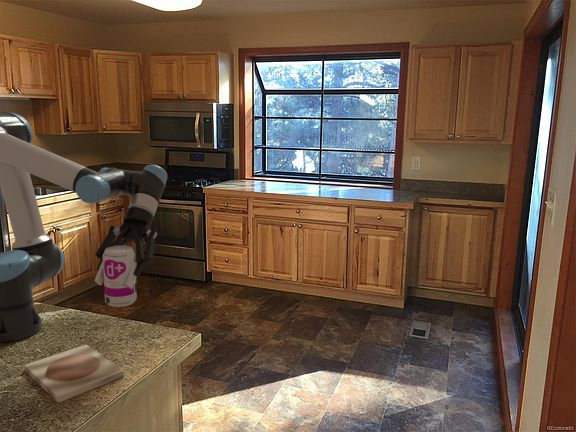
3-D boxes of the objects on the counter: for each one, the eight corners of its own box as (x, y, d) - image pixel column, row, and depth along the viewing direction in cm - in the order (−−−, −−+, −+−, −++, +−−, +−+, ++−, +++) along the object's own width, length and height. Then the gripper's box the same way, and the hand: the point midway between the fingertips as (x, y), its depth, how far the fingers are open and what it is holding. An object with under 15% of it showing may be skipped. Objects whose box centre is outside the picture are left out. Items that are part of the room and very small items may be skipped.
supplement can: (127, 309, 126) (125, 254, 123) (99, 306, 128) (95, 252, 124) (142, 297, 134) (140, 246, 131) (115, 294, 135) (112, 243, 132)
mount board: (24, 370, 121) (24, 362, 121) (86, 349, 133) (86, 342, 133) (58, 402, 108) (57, 394, 108) (123, 376, 120) (123, 368, 119)
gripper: (179, 222, 139) (155, 294, 127) (112, 217, 143) (83, 286, 131) (170, 208, 133) (145, 282, 121) (102, 203, 137) (70, 274, 125)
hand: (113, 284), depth 126 cm, fingers closed on supplement can, 8 cm apart
